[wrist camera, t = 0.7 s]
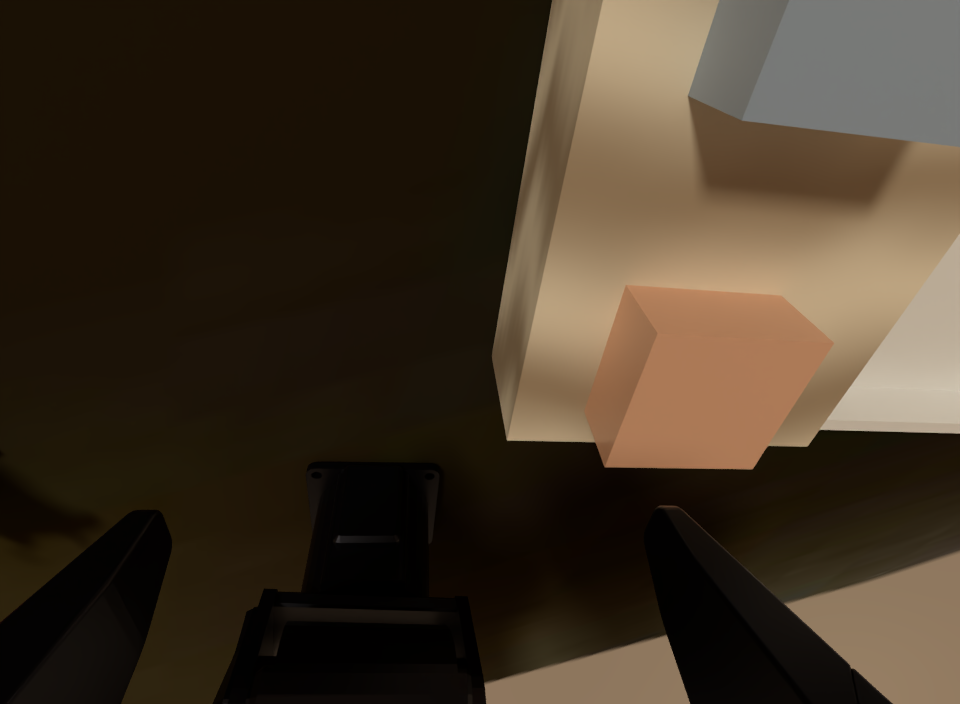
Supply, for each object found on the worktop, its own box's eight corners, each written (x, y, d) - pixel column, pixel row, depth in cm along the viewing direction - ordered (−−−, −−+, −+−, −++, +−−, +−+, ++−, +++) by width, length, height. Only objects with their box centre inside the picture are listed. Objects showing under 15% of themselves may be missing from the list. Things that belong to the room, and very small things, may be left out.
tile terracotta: (716, 415, 18) (752, 469, 16) (584, 411, 18) (604, 467, 16) (781, 295, 15) (834, 342, 13) (625, 284, 15) (657, 333, 13)
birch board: (743, 367, 24) (807, 446, 20) (491, 356, 22) (506, 440, 18) (1031, -168, 13) (1291, -229, 9) (598, -269, 12) (689, -395, 8)
